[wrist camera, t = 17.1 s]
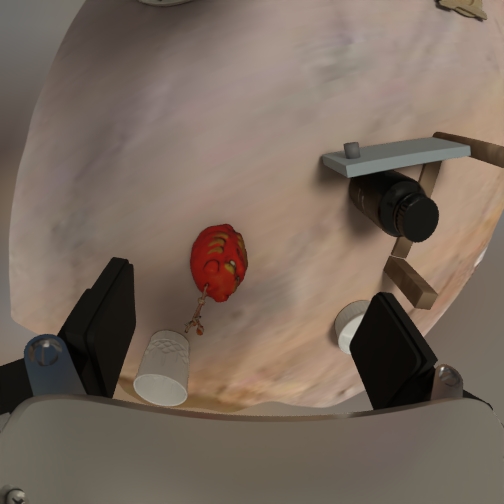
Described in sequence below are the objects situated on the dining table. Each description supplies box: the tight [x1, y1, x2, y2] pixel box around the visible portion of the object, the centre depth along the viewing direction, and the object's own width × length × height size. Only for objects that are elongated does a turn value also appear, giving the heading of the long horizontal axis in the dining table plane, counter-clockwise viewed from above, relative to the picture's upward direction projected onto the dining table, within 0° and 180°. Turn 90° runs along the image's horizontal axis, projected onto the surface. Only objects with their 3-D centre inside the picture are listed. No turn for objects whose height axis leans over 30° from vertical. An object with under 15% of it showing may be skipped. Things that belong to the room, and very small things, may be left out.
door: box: [322, 137, 471, 178], centre depth 28 cm, size 17×3×8 cm, turn 104°
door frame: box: [384, 132, 504, 310], centre depth 30 cm, size 23×3×13 cm, turn 166°
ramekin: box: [335, 300, 370, 355], centre depth 43 cm, size 9×9×4 cm
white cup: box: [134, 330, 190, 406], centre depth 40 cm, size 8×8×10 cm
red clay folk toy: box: [185, 224, 248, 335], centre depth 31 cm, size 8×7×15 cm
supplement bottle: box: [350, 169, 439, 243], centre depth 30 cm, size 7×7×12 cm
